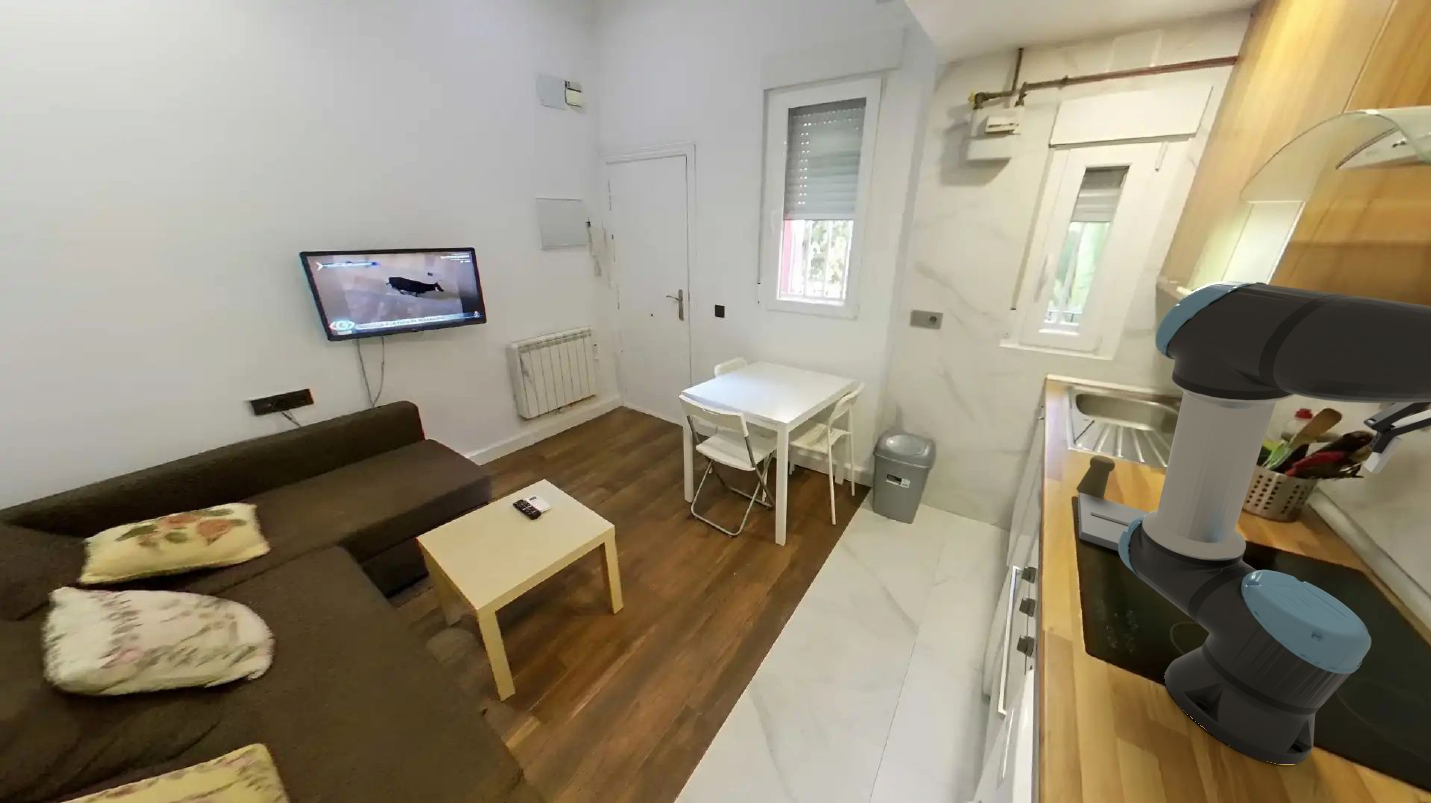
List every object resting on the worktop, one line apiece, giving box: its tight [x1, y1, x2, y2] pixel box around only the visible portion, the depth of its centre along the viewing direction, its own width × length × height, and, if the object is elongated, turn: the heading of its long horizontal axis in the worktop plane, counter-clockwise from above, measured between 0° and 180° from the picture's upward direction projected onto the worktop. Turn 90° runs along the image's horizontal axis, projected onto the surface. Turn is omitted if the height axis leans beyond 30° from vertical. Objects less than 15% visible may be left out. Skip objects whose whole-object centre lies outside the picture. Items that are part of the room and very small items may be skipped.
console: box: [1077, 492, 1150, 552], centre depth 106 cm, size 20×26×2 cm
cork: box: [1076, 455, 1116, 499], centre depth 121 cm, size 6×6×11 cm
